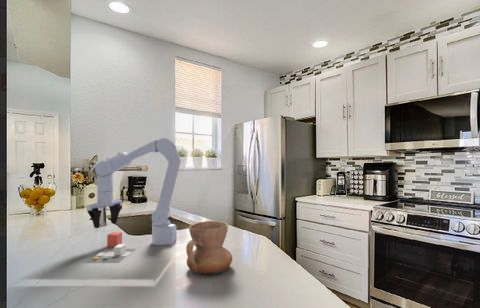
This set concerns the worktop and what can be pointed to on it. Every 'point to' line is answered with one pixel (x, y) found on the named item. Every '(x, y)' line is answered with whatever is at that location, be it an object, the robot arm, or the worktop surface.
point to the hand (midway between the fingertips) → (105, 225)
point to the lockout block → (114, 239)
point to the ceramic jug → (208, 248)
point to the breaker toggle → (119, 249)
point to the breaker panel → (109, 256)
